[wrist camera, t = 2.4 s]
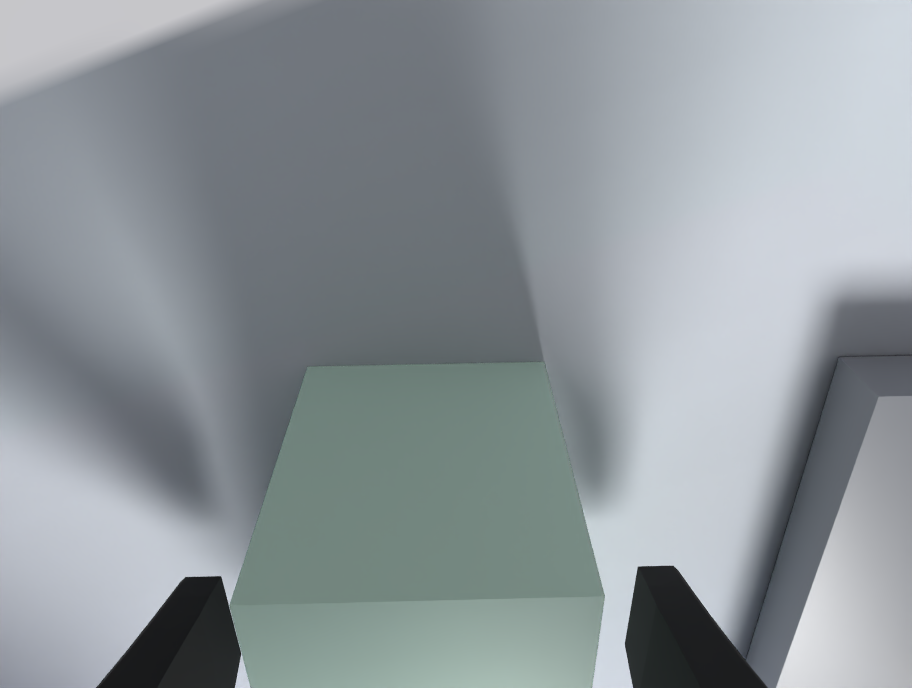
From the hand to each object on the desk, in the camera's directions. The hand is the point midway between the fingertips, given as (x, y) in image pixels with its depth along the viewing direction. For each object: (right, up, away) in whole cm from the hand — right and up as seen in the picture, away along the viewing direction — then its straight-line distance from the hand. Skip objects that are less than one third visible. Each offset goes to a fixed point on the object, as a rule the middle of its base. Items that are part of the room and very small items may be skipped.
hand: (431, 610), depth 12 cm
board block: (0, +1, +2) cm, 2 cm away
